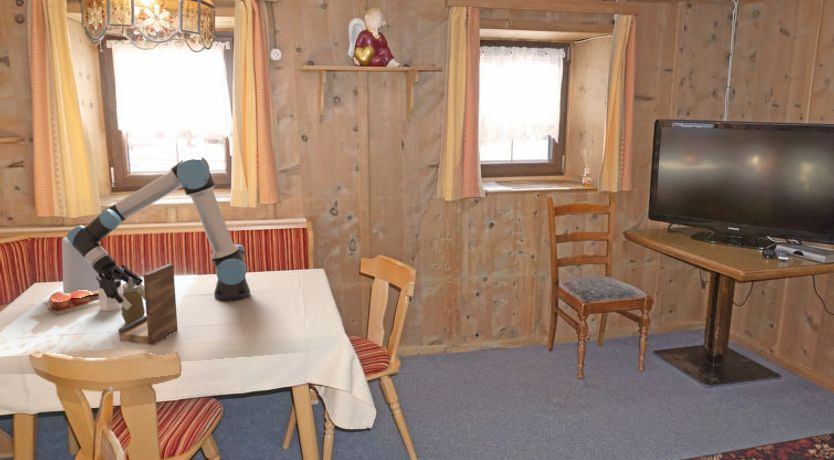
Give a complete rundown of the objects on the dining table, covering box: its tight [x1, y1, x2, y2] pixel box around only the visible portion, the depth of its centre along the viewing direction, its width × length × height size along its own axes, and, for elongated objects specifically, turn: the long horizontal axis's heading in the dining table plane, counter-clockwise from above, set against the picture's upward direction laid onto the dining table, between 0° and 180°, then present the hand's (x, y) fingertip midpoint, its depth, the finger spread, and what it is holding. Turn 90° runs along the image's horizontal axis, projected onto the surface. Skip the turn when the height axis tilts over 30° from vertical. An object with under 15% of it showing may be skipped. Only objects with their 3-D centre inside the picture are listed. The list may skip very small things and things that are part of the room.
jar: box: [98, 279, 124, 312], centre depth 251 cm, size 9×8×12 cm
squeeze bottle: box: [121, 277, 146, 325], centre depth 236 cm, size 8×8×18 cm
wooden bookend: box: [118, 263, 179, 346], centre depth 222 cm, size 14×14×26 cm
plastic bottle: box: [61, 236, 99, 294], centre depth 268 cm, size 15×15×28 cm
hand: (139, 303), depth 236 cm, fingers open, 10 cm apart
